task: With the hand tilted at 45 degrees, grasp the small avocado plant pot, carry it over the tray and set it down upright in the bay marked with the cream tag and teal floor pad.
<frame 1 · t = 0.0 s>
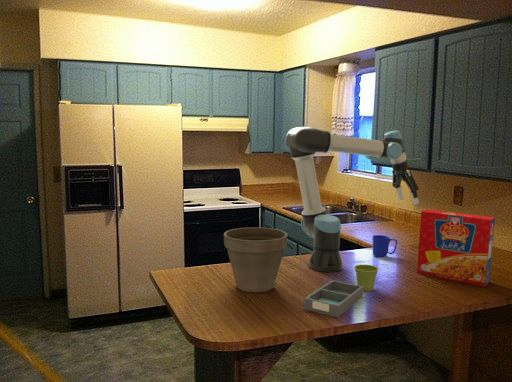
hand: (408, 201, 234), 28 cm above the worktop, tool tilted 20°, fingers open, 13 cm apart
pasta box: (452, 277, 203), on the worktop
plant pot: (254, 287, 184), on the worktop
mug: (383, 256, 235), on the worktop
tray: (334, 302, 169), on the worktop
plant pot 2: (365, 289, 185), on the worktop
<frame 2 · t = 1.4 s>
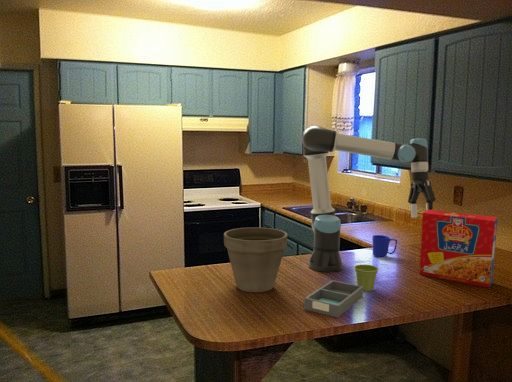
hand: (421, 217, 215), 23 cm above the worktop, tool pointing down, fingers open, 13 cm apart
pasta box: (455, 278, 201), on the worktop, touching gripper
everything else where it was.
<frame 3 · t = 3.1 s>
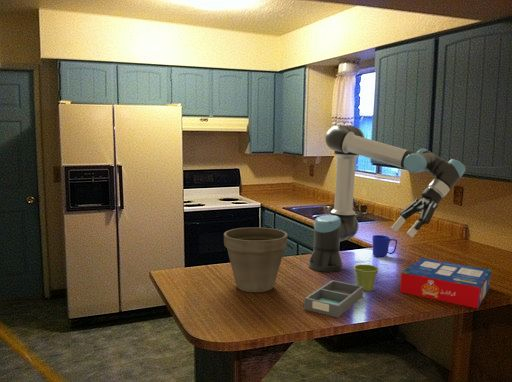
hand: (400, 232, 186), 22 cm above the worktop, tool tilted 40°, fingers open, 13 cm apart
pasta box: (454, 272, 197), point 4 cm above the worktop
everything else where it was.
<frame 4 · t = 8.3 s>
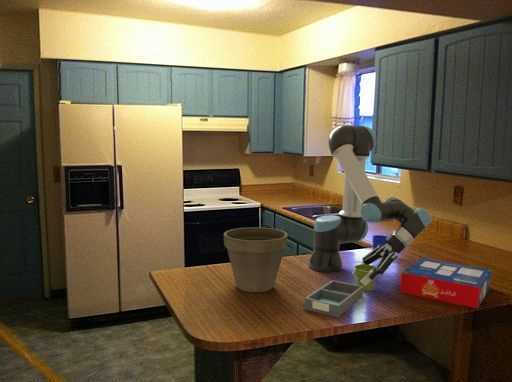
hand: (358, 279, 184), 4 cm above the worktop, tool tilted 45°, fingers closed on plant pot 2, 9 cm apart
plant pot 2: (365, 289, 185), on the worktop, touching gripper
everything else where it was.
when the fingers open (7 cm above the worktop, at t = 14.8 s): plant pot 2 drops 2 cm, resting on tray.
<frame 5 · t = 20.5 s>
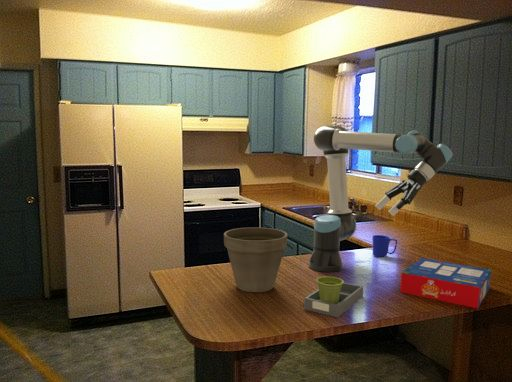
hand: (383, 210, 192), 30 cm above the worktop, tool tilted 45°, fingers open, 13 cm apart
plant pot 2: (328, 304, 164), point 1 cm above the worktop, touching tray
everything else where it was.
at the end: plant pot 2 0.2 cm from the target spot on the tray, point 1.0 cm above the tray's base; plant pot 2 tilted 0°; the gripper is holding nothing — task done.
